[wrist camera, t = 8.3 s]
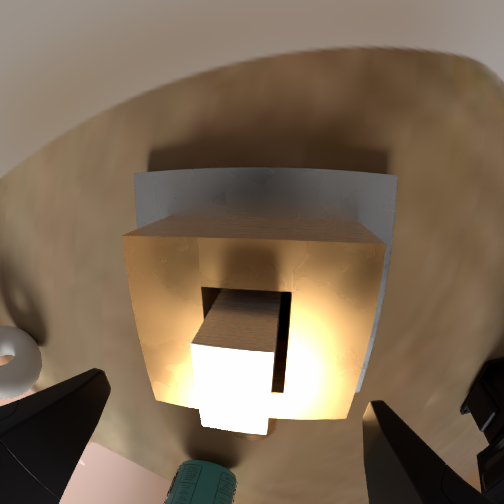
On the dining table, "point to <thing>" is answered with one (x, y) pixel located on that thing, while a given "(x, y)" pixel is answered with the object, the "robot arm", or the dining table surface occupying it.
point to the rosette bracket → (263, 274)
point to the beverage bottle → (202, 484)
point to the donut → (18, 362)
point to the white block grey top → (237, 359)
